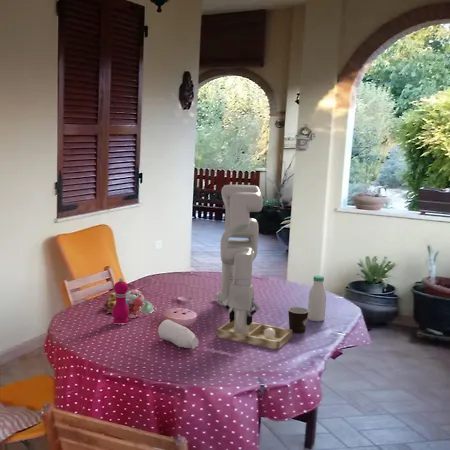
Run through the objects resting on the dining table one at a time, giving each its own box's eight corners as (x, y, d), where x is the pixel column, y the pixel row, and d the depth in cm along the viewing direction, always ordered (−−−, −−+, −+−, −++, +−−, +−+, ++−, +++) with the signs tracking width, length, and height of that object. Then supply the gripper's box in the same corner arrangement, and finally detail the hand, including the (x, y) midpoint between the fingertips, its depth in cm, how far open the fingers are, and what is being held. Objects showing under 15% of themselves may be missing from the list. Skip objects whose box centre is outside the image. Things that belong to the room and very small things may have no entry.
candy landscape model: (93, 313, 267) (93, 293, 265) (119, 299, 288) (119, 280, 287) (143, 321, 258) (143, 301, 257) (166, 306, 280) (166, 287, 279)
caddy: (216, 338, 241) (216, 329, 240) (232, 326, 255) (233, 318, 254) (278, 351, 230) (279, 342, 229) (292, 338, 244) (292, 329, 243)
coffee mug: (294, 337, 245) (295, 314, 243) (283, 330, 253) (284, 308, 251) (317, 333, 251) (318, 311, 249) (305, 327, 258) (306, 305, 256)
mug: (236, 328, 251) (237, 301, 249) (251, 331, 248) (252, 303, 246) (228, 336, 242) (229, 308, 240) (243, 338, 239) (244, 310, 237)
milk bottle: (324, 322, 265) (327, 279, 261) (306, 320, 266) (309, 278, 263) (324, 317, 272) (327, 275, 268) (308, 315, 274) (310, 273, 270)
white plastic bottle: (186, 355, 223) (187, 335, 221) (157, 340, 237) (157, 321, 235) (202, 350, 228) (203, 331, 227) (173, 336, 242) (173, 317, 240)
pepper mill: (132, 322, 256) (133, 277, 253) (122, 327, 250) (123, 281, 246) (118, 319, 259) (118, 275, 256) (108, 324, 253) (108, 278, 249)
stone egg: (261, 340, 238) (262, 329, 237) (265, 336, 243) (266, 325, 242) (272, 342, 236) (273, 331, 235) (276, 338, 241) (277, 327, 240)
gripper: (219, 280, 241) (217, 321, 244) (258, 286, 234) (256, 329, 237) (226, 276, 248) (225, 316, 251) (265, 282, 241) (263, 323, 244)
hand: (240, 322), depth 244 cm, fingers open, 7 cm apart
